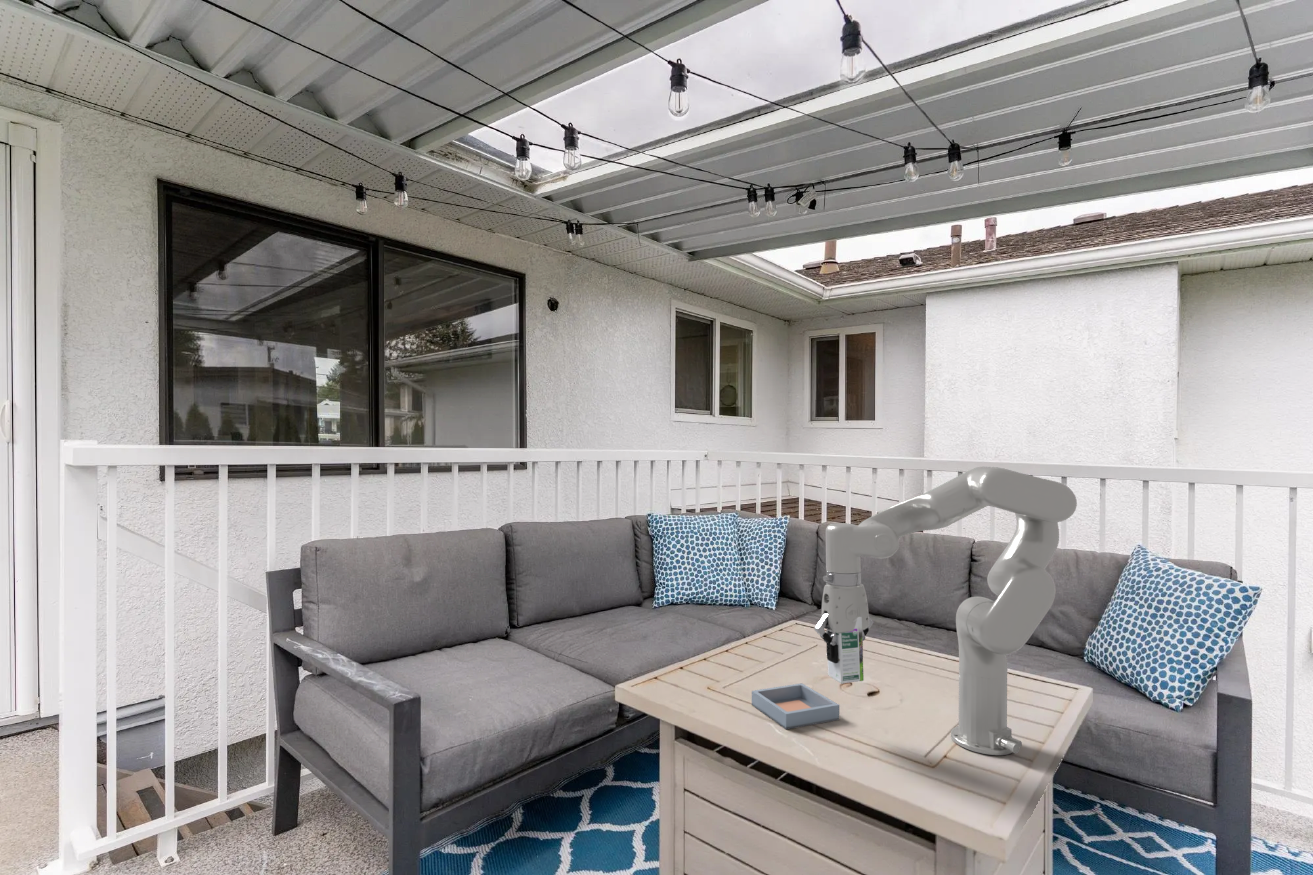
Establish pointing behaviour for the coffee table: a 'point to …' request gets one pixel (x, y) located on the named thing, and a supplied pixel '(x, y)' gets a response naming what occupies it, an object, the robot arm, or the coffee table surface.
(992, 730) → the robot arm
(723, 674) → the coffee table surface
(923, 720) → the coffee table surface
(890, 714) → the coffee table surface
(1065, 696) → the coffee table surface
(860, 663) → the syrup box
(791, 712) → the box
